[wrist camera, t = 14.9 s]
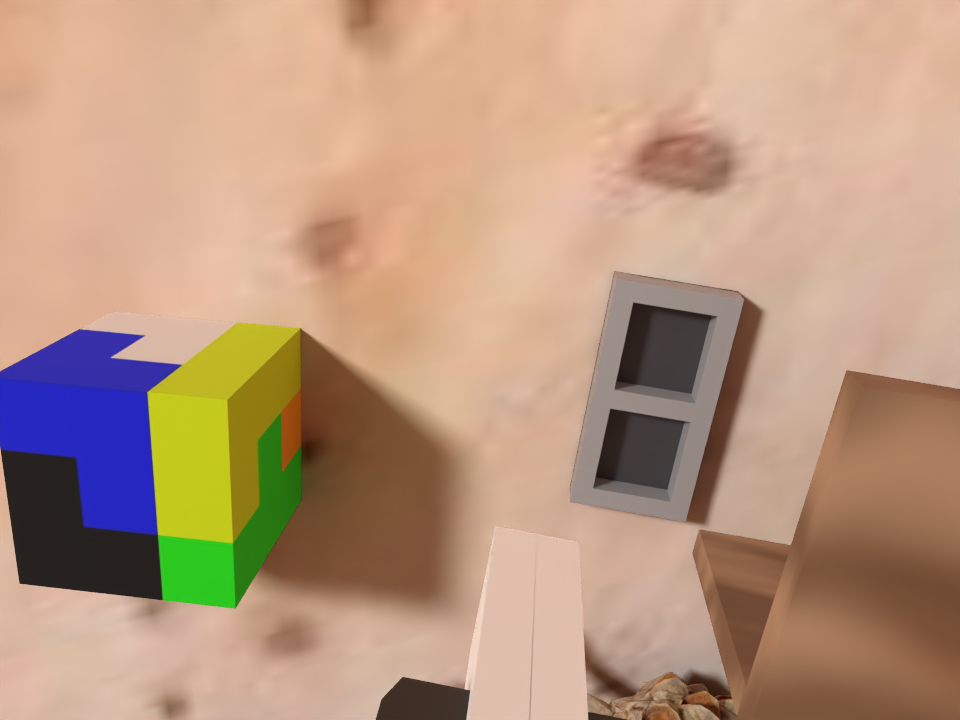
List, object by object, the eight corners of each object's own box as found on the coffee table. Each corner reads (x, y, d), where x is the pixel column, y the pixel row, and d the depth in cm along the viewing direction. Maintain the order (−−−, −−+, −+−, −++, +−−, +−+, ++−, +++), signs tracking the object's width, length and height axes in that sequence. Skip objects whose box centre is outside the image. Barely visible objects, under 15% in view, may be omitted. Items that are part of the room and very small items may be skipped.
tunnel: (915, 592, 44) (1057, 801, 32) (692, 553, 45) (744, 743, 32) (1018, 326, 39) (1237, 448, 26) (765, 285, 40) (861, 385, 27)
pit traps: (681, 507, 44) (685, 522, 42) (569, 488, 44) (570, 502, 43) (737, 291, 40) (744, 299, 38) (614, 271, 40) (616, 278, 39)
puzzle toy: (114, 310, 43) (-10, 376, 34) (300, 327, 43) (227, 399, 33) (128, 480, 47) (19, 583, 37) (302, 498, 46) (235, 608, 37)
